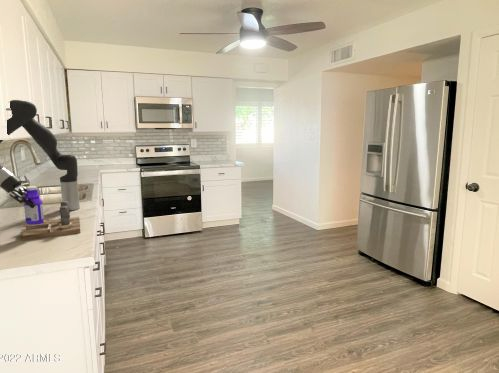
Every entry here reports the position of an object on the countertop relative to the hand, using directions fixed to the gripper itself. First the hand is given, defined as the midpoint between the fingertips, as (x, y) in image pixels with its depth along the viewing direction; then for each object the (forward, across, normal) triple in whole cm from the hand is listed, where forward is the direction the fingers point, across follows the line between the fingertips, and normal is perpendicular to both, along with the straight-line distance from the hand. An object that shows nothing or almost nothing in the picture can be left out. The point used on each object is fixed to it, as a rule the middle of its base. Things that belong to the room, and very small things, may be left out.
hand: (37, 205), depth 156 cm
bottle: (+5, 0, +8) cm, 9 cm away
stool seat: (+12, +8, +9) cm, 16 cm away
